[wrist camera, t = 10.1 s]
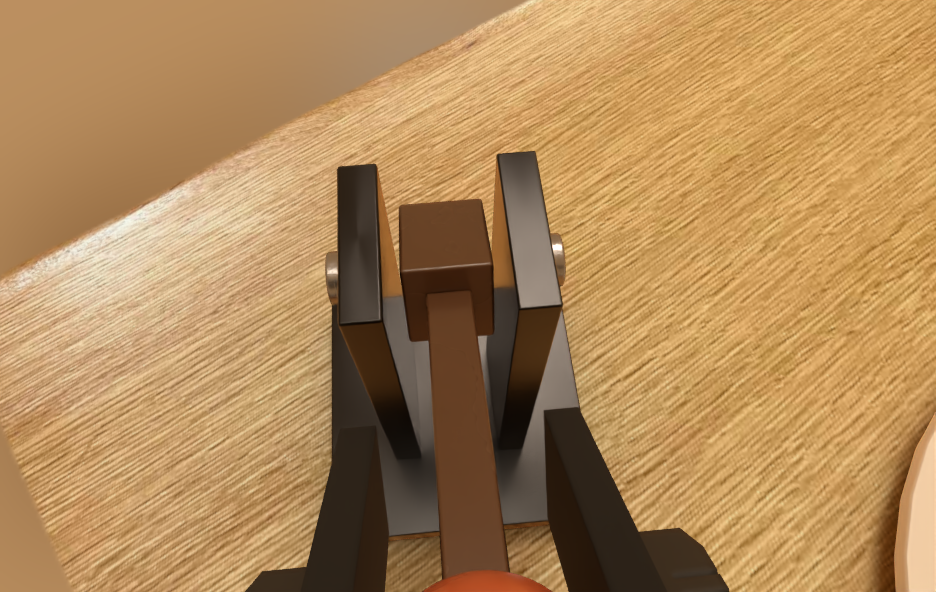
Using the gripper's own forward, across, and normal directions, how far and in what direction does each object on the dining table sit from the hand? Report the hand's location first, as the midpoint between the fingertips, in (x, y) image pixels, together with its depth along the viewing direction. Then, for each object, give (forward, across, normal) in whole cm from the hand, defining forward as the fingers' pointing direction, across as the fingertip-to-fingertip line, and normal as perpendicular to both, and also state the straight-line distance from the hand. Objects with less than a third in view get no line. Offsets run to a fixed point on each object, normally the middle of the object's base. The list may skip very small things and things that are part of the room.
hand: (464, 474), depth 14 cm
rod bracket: (+12, 0, -5) cm, 13 cm away
